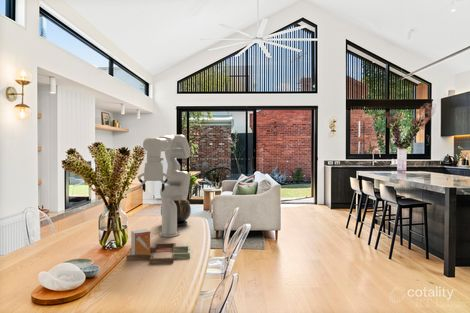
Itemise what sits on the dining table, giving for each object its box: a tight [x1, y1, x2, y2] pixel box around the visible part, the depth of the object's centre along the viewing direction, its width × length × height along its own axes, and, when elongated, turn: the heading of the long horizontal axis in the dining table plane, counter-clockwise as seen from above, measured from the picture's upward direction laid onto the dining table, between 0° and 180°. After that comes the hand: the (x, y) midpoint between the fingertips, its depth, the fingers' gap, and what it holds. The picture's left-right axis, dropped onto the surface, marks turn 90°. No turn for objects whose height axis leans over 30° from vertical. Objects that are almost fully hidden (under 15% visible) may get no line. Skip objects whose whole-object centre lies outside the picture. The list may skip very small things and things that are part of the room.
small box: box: [130, 228, 151, 255], centre depth 172 cm, size 8×6×13 cm
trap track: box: [125, 242, 191, 265], centre depth 173 cm, size 26×31×2 cm
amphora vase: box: [160, 198, 192, 228], centre depth 243 cm, size 22×22×28 cm
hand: (153, 191), depth 184 cm, fingers open, 9 cm apart
